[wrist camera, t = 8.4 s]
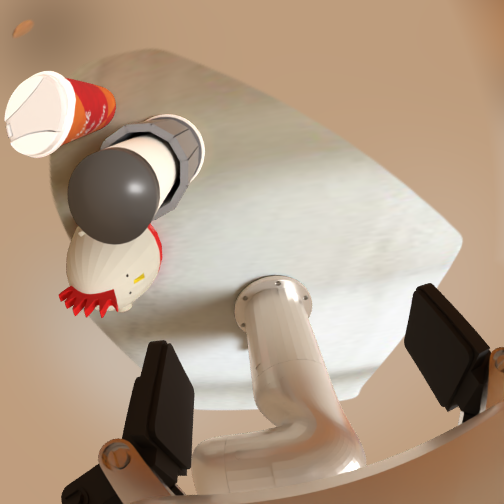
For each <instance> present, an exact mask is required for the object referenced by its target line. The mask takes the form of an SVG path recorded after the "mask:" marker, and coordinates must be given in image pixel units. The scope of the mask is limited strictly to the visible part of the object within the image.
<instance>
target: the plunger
mask: <svg viewBox="0 0 504 504" xmlns="http://www.w3.org/2000/svg"><path fill="white" fill-rule="evenodd" d="M179 176H180V160H179V159H178V157H177V155H176V154H175V152H174V150H173V148H172V147H171V145H170V143H169V142H168V141H166V140H164V139H162V138H161V137H159V136H157V135H155V134H153V133H151V132H149V133H146V134H143V135H140V136H137V137H135V138H132V139H129V140H126V141H124V142H121V143H118V144H116V145H113V146H110V147H108V148H105V149H103V150H100V151H98V152H95V153H93V154H91V155H89V156H87V157H86V158H85V159H83V160H82V161H81V162H80V163H79V164H78V166H77V167H76V168H75V170H74V171H73V173H72V176H71V178H70V181H69V186H68V203H69V208H70V211H71V214H72V216H73V218H74V220H75V222H76V223H77V225H78V226H79V227H80V228H81V229H82V230H83V232H85V233H86V234H87V235H88V236H90V237H91V238H93V239H95V240H97V241H99V242H102V243H106V244H113V245H117V244H124V243H127V242H130V241H132V240H134V239H136V238H137V237H139V236H140V235H141V234H142V233H143V232H144V231H145V230H146V229H147V228H148V226H149V224H150V223H151V221H152V219H153V218H154V216H155V214H156V213H157V211H158V209H159V208H160V206H161V204H162V203H163V201H164V199H165V198H166V196H167V195H168V193H169V192H170V190H171V188H172V187H173V185H174V184H175V182H176V181H177V179H178V178H179Z"/></svg>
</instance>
